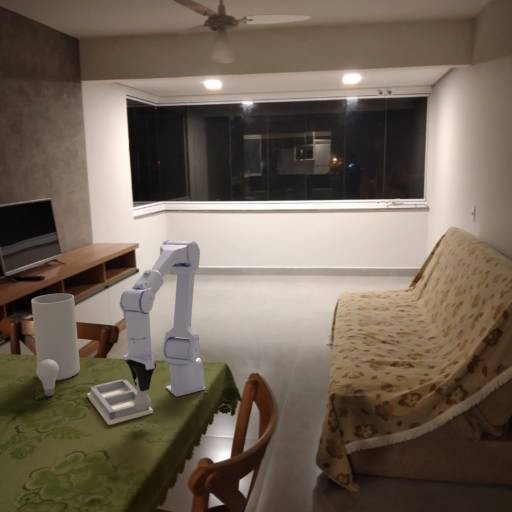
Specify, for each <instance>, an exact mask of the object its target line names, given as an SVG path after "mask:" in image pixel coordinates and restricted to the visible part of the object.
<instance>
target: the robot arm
mask: <svg viewBox="0 0 512 512" xmlns="http://www.w3.org/2000/svg"><path fill="white" fill-rule="evenodd" d="M200 254H201V249H200V247H199V244H198V243H197V242H196V240H191V241H184V240H170V239H165V240H164V241H163V242H162V244H161V245H160V247H159V256H158V258H157V260H156V261H155V263H154V265H153V266H152V268H151V269H146V270H144V271H143V273H142V274H141V275H140V276H139V278H138V279H137V280H136V282H135V283H134V285H133V286H132V287H131V288H127V289H126V290H124V291H123V292H122V293H121V295H120V302H119V307H120V309H121V311H122V315H123V317H122V318H124V319H125V325H126V327H125V328H126V339H127V341H126V342H127V345H126V353H127V354H124V355H123V359H124V360H125V362H126V364H127V366H128V367H129V370H130V372H131V375H132V380H133V382H134V383H133V384H134V385H135V387H136V386H137V383H136V382H135V380H136V377H137V379H138V384H139V388H140V391H146V390H147V391H150V387H151V382H152V376H153V374H154V371H155V369H156V368H157V363H156V362H155V360H154V359H153V358H154V357H153V355H154V354H153V351H152V338H151V322H150V312H151V310H152V309H153V306H154V302H155V299H156V294H157V293H158V291H159V290H160V289H161V287H162V286H163V284H164V278H163V277H164V276H165V275H166V274H167V273H168V272H169V270H170V269H173V270H174V271H175V273H176V274H177V275H176V285H175V286H176V287H175V302H174V315H173V327H172V328H171V329H169V330H168V331H167V332H165V335H164V340H163V343H162V350H161V352H162V355H163V356H164V358H165V359H166V362H168V363H169V377H170V384H169V385H166V386H165V388H166V389H167V390H168V391H169V392H170V393H171V394H172V395H173V396H174V397H180V396H181V397H182V396H185V395H188V394H192V393H196V392H200V391H204V390H206V386H205V373H204V372H205V371H204V364H203V361H202V359H201V358H200V357H199V356H200V353H201V344H200V335H199V334H198V332H197V331H195V330H194V329H193V328H192V318H193V317H192V315H193V301H194V290H195V289H194V287H195V275H196V274H195V272H196V271H198V270H199V267H200V257H201V255H200Z"/></svg>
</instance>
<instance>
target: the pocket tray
mask: <svg viewBox="0 0 512 512" xmlns="http://www.w3.org/2000/svg"><path fill="white" fill-rule="evenodd" d="M89 389H90V390H89V391H90V392H87V399H88V400H89V401H90V402H91V404H92V405H93V406H94V407H95V409H96V410H97V411H98V413H99V414H100V415H101V417H102V418H103V420H104V421H105V422H106V424H107V425H108V426H112V425H115V424H118V423H122V422H125V421H128V420H133V419H136V418H139V417H143V416H148V415H150V414H153V413H154V409H153V408H152V407H151V406H150V407H149V408H148V409H145V410H138V409H136V408H135V407H134V405H135V404H134V400H135V398H136V396H137V388H136V387H134V386H133V384H131V383H130V381H128V380H127V379H126V378H121V379H118V380H117V379H116V380H113V381H108V382H104V383H99V384H95V385H91V386H89Z"/></svg>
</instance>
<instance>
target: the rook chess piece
mask: <svg viewBox="0 0 512 512" xmlns="http://www.w3.org/2000/svg"><path fill="white" fill-rule="evenodd" d="M135 382H136V383H137V386H135V388H136V390H137V396H136V398H135V400H134V404H135V405H134V407H135V408H136V409H138V410H145V409H148V408H149V407H151V406H152V400H151V397H150V396H149V394H148V390H146V391H140V388H139V384H138V379H137V377H136V380H135Z"/></svg>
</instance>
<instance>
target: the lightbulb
mask: <svg viewBox="0 0 512 512" xmlns="http://www.w3.org/2000/svg"><path fill="white" fill-rule="evenodd" d="M58 373H59V366H58V364H57V363H56V362H55V361H53V360H50V359H47V360H43V361H42V362H40V363H39V364H37V366H36V375H37V378H39V380H40V381H41V383H42V386H43V390H44V394H45V396H47V397H52V396H53V395H54V394H55V387H56V381H55V380H56V377H57V375H58Z"/></svg>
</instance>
